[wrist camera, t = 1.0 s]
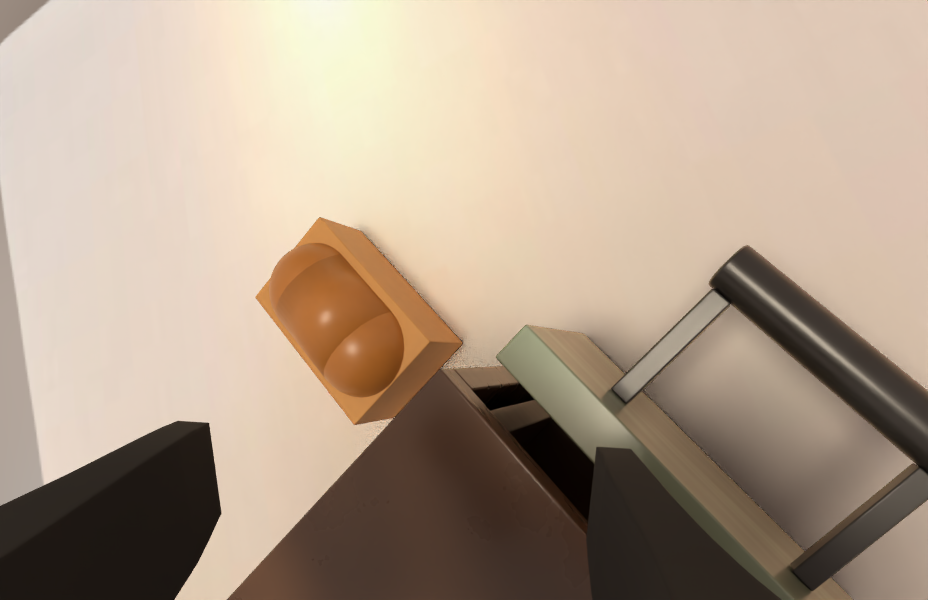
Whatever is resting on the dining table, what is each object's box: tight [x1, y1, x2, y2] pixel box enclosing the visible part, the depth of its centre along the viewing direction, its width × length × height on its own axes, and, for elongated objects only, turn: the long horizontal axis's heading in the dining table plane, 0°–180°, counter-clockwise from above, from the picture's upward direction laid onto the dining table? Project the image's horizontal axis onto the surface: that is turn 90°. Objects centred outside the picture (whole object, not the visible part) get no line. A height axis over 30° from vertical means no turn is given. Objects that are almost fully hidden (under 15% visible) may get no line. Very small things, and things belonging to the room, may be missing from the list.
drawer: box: [490, 245, 928, 600], centre depth 17 cm, size 18×11×7 cm, turn 135°
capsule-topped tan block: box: [256, 217, 462, 425], centre depth 24 cm, size 7×4×4 cm, turn 45°
